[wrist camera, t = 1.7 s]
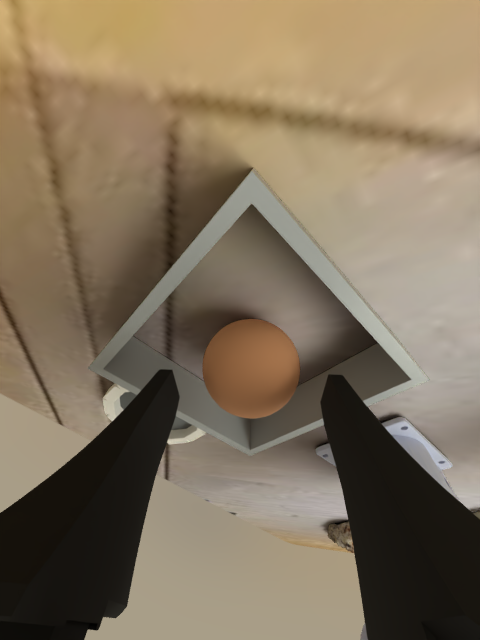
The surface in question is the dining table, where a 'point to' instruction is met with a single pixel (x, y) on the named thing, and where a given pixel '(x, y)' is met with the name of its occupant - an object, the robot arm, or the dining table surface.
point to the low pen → (304, 406)
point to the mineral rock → (341, 535)
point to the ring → (121, 397)
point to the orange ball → (251, 368)
